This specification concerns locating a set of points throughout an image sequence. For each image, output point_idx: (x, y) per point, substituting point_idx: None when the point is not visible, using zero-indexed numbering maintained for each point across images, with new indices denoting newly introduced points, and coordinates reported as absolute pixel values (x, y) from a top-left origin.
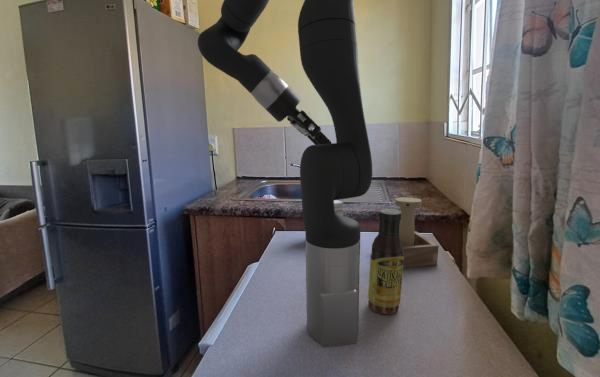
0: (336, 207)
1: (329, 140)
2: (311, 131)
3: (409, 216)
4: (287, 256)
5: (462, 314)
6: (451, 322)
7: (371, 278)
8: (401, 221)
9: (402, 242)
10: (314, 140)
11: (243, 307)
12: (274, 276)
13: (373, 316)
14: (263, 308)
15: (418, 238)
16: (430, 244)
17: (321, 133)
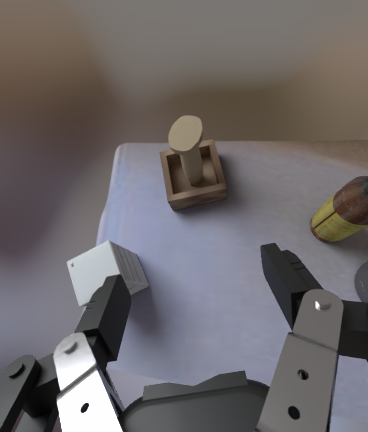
0: (117, 255)
1: (279, 249)
2: (96, 340)
3: (198, 147)
4: (187, 346)
5: (325, 158)
6: (342, 171)
7: (355, 232)
8: (193, 162)
9: (200, 176)
10: (121, 316)
11: (361, 413)
12: (260, 367)
13: (347, 240)
14: (357, 380)
15: (178, 155)
16: (209, 146)
17: (303, 287)
